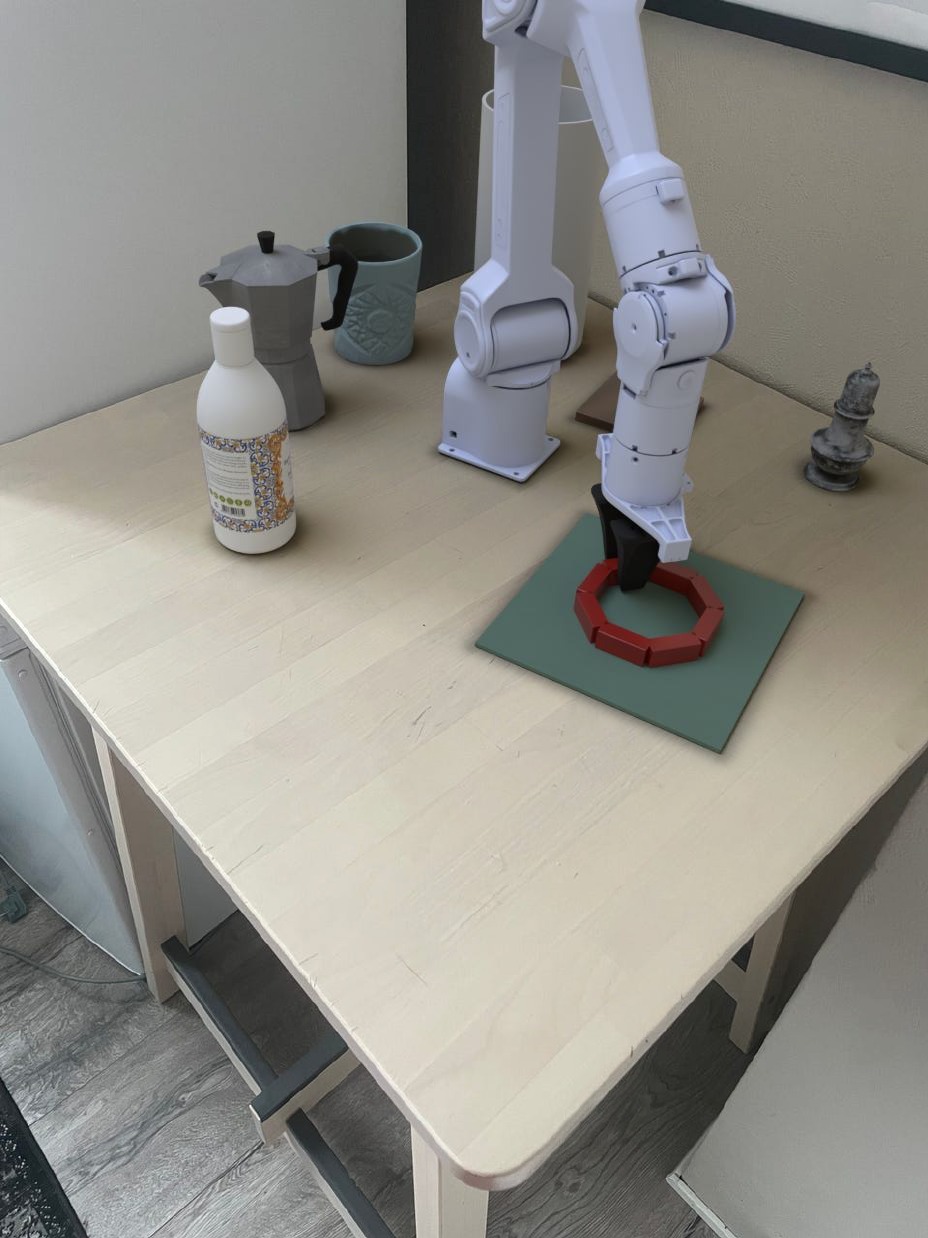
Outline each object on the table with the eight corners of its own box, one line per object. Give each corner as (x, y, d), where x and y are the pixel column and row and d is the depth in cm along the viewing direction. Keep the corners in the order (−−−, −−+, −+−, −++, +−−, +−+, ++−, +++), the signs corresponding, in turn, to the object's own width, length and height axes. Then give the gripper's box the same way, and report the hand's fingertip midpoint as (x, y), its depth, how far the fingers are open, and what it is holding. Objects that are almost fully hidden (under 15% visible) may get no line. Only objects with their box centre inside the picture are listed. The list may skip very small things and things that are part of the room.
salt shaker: (865, 497, 96) (908, 383, 88) (801, 488, 97) (837, 373, 89) (860, 463, 100) (900, 351, 92) (799, 454, 101) (833, 342, 93)
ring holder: (574, 419, 104) (581, 371, 100) (615, 378, 111) (622, 331, 107) (666, 450, 101) (676, 401, 97) (702, 406, 107) (713, 358, 103)
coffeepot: (236, 448, 98) (212, 265, 86) (203, 401, 104) (176, 224, 92) (381, 410, 104) (378, 234, 92) (342, 368, 110) (334, 198, 98)
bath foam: (293, 557, 86) (272, 338, 73) (209, 556, 86) (173, 336, 72) (300, 507, 91) (282, 294, 78) (221, 506, 91) (189, 292, 77)
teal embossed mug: (363, 317, 119) (360, 213, 110) (438, 341, 115) (441, 235, 107) (311, 352, 112) (303, 245, 104) (388, 379, 108) (387, 270, 100)
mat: (474, 646, 79) (474, 642, 79) (586, 515, 92) (586, 512, 92) (719, 754, 72) (720, 750, 72) (803, 596, 85) (804, 592, 85)
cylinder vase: (495, 306, 122) (510, 76, 105) (595, 329, 119) (627, 95, 102) (453, 351, 113) (461, 109, 97) (559, 378, 110) (588, 131, 93)
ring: (554, 630, 80) (556, 613, 79) (612, 556, 88) (615, 539, 86) (685, 685, 77) (689, 668, 75) (735, 603, 84) (740, 586, 82)
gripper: (744, 484, 72) (705, 626, 81) (664, 380, 82) (637, 517, 91) (650, 496, 70) (621, 639, 79) (580, 388, 80) (562, 526, 90)
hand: (624, 575), depth 85 cm, fingers closed
